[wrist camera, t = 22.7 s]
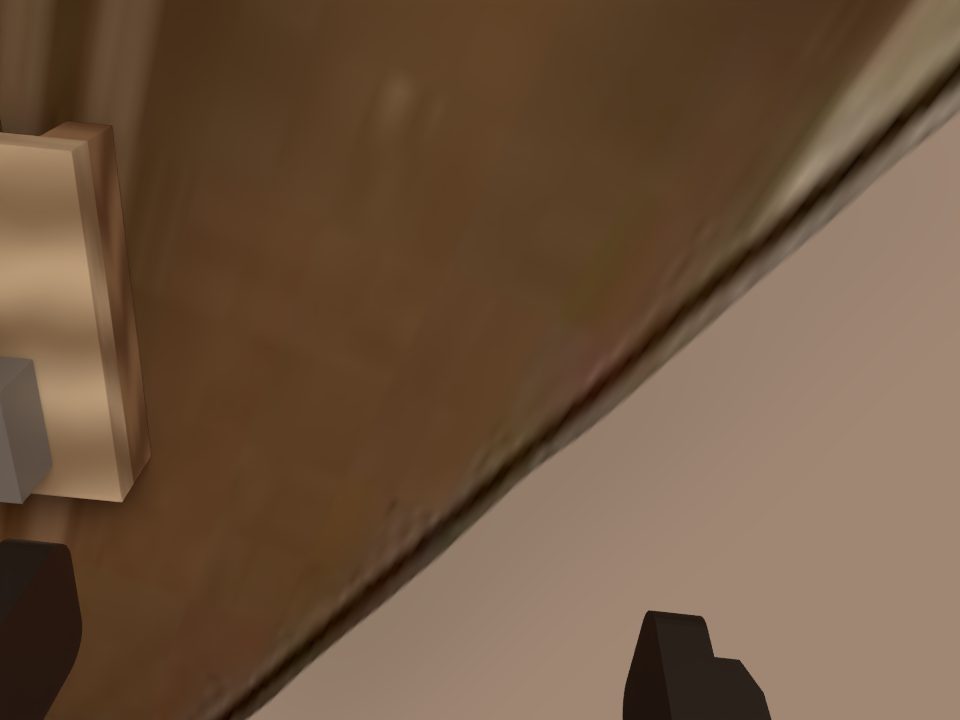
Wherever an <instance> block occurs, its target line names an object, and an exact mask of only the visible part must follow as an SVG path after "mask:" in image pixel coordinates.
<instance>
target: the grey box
mask: <svg viewBox="0 0 960 720" xmlns="http://www.w3.org/2000/svg"><path fill="white" fill-rule="evenodd" d="M51 467H52V460H51V455H50V449H49V444H48V439H47V433H46V428H45V423H44V418H43V412H42V407H41V402H40V396H39V391H38V386H37V381H36V375H35V370H34V365H33V360H31V359H21V358H10V357H0V502H7V503H17V504H23V502H24V501H25V500H26V499H27V497H28V496H29V495H30V493H31V492H32V491H33V490H34V488H35V487H36V486H37V484H38V483H39V482H40V481H41V479H42V478H43V477H44V476H45V474H46V473H47V472H48V470H49V469H50V468H51Z"/></svg>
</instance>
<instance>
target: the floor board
mask: <svg viewBox="0 0 960 720" xmlns="http://www.w3.org/2000/svg"><path fill="white" fill-rule="evenodd" d="M0 357H10V358H21V359H31V360H33V365H34V370H35V375H36V381H37V386H38V391H39V396H40V402H41V407H42V412H43V418H44V423H45V428H46V433H47V439H48V444H49V449H50V455H51V460H52V467H51V468H50V469H49V470H48V472H47V473H46V474H45V476H44V477H43V478H42V479H41V481H40V482H39V483H38V484H37V486H36V487H35V488H34V490H33V491H32V492H31V493H32V494H42V495H53V496H63V497H73V498H84V499H94V500H105V501H115V502H122V501H123V500H124V498H125V497H126V495H127V493H128V492H129V490H130V489H131V487H132V486H133V484H134V482H135V481H136V479H137V478H138V476H139V474H140V473H141V471H142V470H143V468H144V466H145V465H146V463H147V462H148V460H149V459H150V457H151V449H150V441H149V432H148V424H147V416H146V407H145V399H144V390H143V382H142V374H141V365H140V357H139V349H138V340H137V332H136V324H135V315H134V307H133V298H132V290H131V282H130V273H129V265H128V257H127V248H126V240H125V231H124V223H123V215H122V206H121V198H120V190H119V181H118V173H117V164H116V156H115V148H114V139H113V131H112V126H111V125H101V124H91V123H81V122H71V121H66V122H64V123H63V124H61V125H59V126H57V127H55V128H54V129H52V130H50V131H48V132H46V133H45V134H43V135H41V136H32V135H21V134H11V133H2V128H1V122H0Z"/></svg>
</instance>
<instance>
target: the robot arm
mask: <svg viewBox="0 0 960 720" xmlns="http://www.w3.org/2000/svg"><path fill="white" fill-rule="evenodd" d="M81 636H82V619H81V613H80V607H79V601H78V595H77V589H76V583H75V577H74V571H73V565H72V559H71V554H70V551H69V548H68V547H67V546H66V545H64V544H58V543H49V542H40V541H31V540H22V539H13V538H8V539H5V540H4V541H2V542H1V543H0V720H43V719H44V718H45V716H46V714H47V712H48V711H49V709H50V707H51V705H52V703H53V702H54V700H55V698H56V696H57V694H58V693H59V691H60V689H61V687H62V686H63V684H64V682H65V680H66V678H67V677H68V675H69V673H70V671H71V669H72V667H73V665H74V663H75V660H76V657H77V654H78V651H79V647H80V643H81ZM623 720H771V717H770V713H769V710H768V706H767V703H766V700H765V696H764V693H763V691H762V690H761V689H760V687H759V686H758V685H757V683H756V682H755V680H754V679H753V678H752V676H751V675H750V674H749V672H748V671H747V670H746V668H745V667H744V665H743V664H742V663H741V661H740V660H736V659H726V658H717V657H714V654H713V649H712V645H711V641H710V637H709V633H708V629H707V625H706V622H705V620H704V619H703V617H701V616H695V615H686V614H677V613H668V612H659V611H648V612H647V613H646V615H645V617H644V620H643V623H642V627H641V630H640V634H639V638H638V641H637V645H636V648H635V652H634V656H633V660H632V663H631V667H630V670H629V674H628V678H627V681H626V685H625V691H624V699H623Z"/></svg>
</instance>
